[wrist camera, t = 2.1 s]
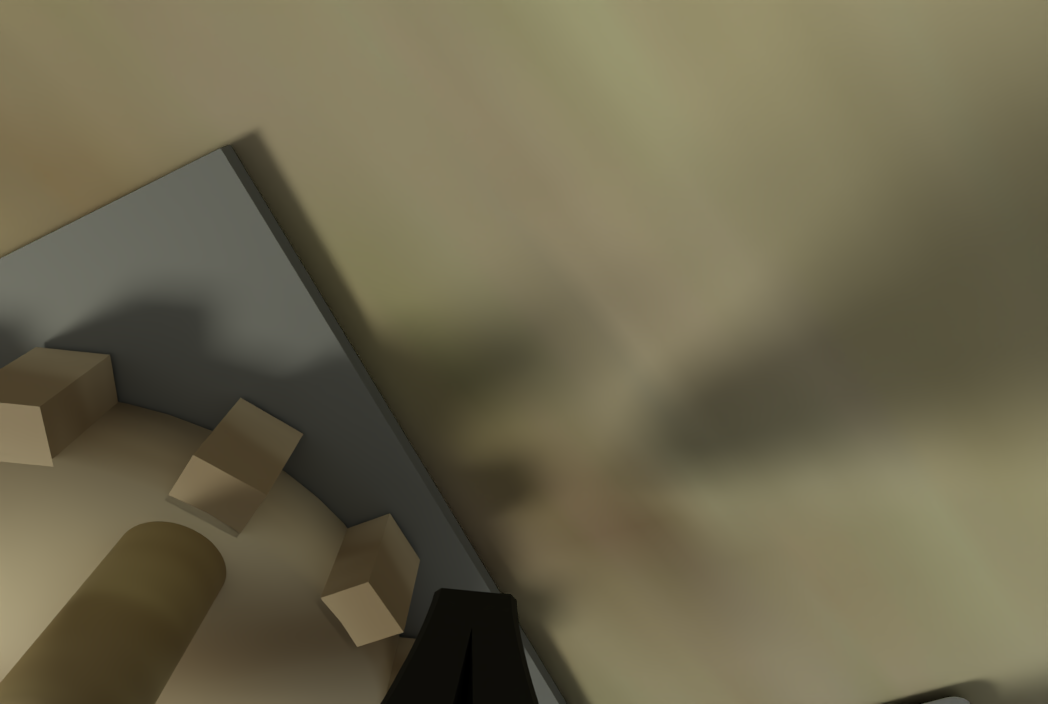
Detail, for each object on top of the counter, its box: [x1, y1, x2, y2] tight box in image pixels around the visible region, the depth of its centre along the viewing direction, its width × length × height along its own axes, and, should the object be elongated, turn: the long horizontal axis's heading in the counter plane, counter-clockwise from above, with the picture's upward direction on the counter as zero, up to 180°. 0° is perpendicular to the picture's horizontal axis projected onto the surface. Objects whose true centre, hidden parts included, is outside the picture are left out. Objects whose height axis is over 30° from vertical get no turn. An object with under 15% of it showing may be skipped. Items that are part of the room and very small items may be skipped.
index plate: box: [0, 145, 567, 704], centre depth 16 cm, size 17×17×1 cm
